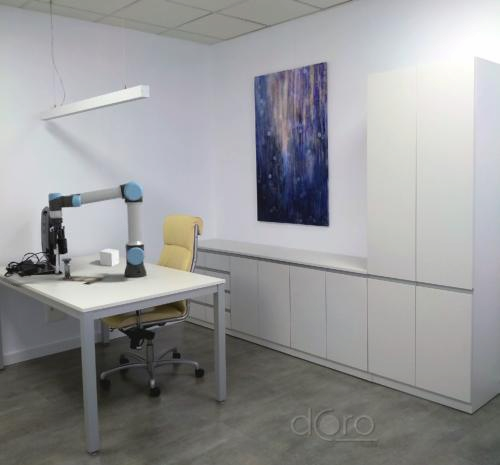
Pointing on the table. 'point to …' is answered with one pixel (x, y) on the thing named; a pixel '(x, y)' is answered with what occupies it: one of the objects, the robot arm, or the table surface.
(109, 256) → the white rectangular block
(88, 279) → the walnut board
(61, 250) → the electronic device
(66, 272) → the bobbin
